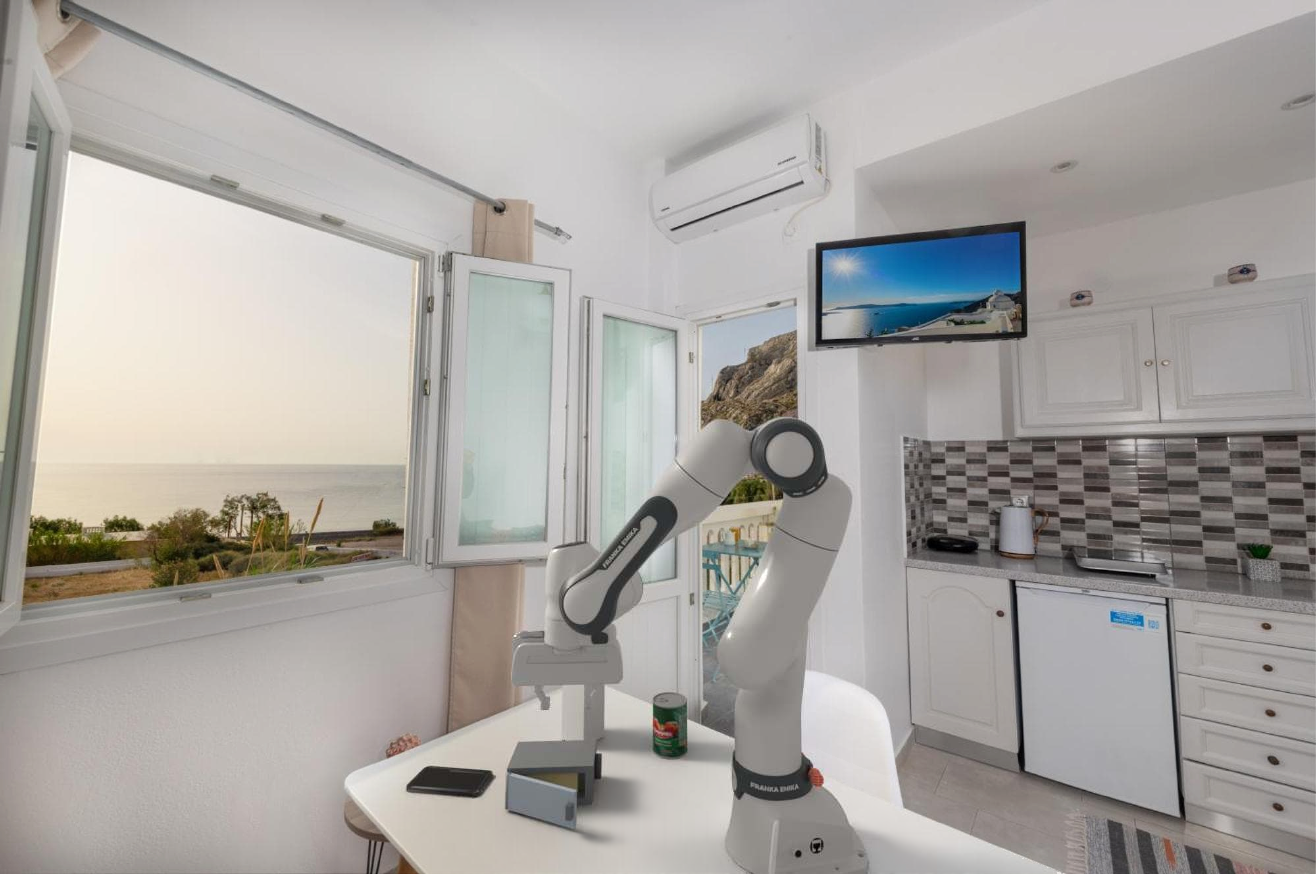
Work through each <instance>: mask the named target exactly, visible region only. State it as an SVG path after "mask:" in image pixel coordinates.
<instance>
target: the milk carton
mask: <svg viewBox="0 0 1316 874" xmlns="http://www.w3.org/2000/svg"><path fill="white" fill-rule="evenodd" d="M605 685H606V684H600V690H599V692H598V694H597V696H596V697H595V699H594V709H586V696H590V695H591V694H592V692H593V690H592V684H589V685H561V686H562V693H561V740H562V739H563V740H562V741H564V740H565V741H566V740H597V741H599V740H601V737H602V738H604V736H605V698H606V697H605V696H606V695H605V692H606V691H605V690H606V688H605ZM598 739H599V740H598Z"/></svg>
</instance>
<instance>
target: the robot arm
mask: <svg viewBox="0 0 1316 874" xmlns="http://www.w3.org/2000/svg"><path fill="white" fill-rule="evenodd" d="M753 474H760V475H761V476H762V478H764V479H765V480H766V481H767V482H769V483H770V484H771V485H773V486H774V487H775V488H777V489H779V490H780V491H781V492H782V494H783V495H782V497H783V498H782V503H781V507H780V511H779V513H778V515H777V517H776V519H775V523H774V525H773V528H772V530H771V533H770V535H769V537H768V540H767V543H766V546H765V548H764V551H763V553H762V556H761V559H760V561H759V562H758V563H759V564H758V566H757V567H756V569H755V572H754V574H753V576H752V577H751V579H750V581H749V583H748V584H747V587H746V588H745V591H744V593H743V594H742V596H741V598H740V600H739V602H738V604H737V605H736V608H735V610H734V612H733V615H732V617H731V618H730V621H729V623H728V624H727V627H726V628H725V630H724V632H723V634H722V635H721V637H720V639H719V641H718V644H717V649H716V657H717V662H718V666H719V668H720V670H721V672H722V674H723V676H724V677H725V678H726V680H728V681H729V682H730V683H731V684H733V685H734V686H735V687H737V688H738V691H737V696H736V699H735V703H734V750H733V752H732V757H731V758H732V761H731V787H732V791H733V799H732V807H731V812H730V813H731V814H730V819H729V824H728V828H727V832H726V835H725V846H726V849H727V852H728V854H729V855H730V856H731V858H732V859H733V860H734V861H735V862H736V863H737V864H738V865H739V866H740V867H742V868H743V869H744V870H746V871H747V872H749V873H751V874H868V873H869V872H868V871H869V858H868V854H867V850H866V847H865V846H864V844H863V841H862V839H861V838H860V837H859V835H858V833H857V832H856V831H855V829H854V828H853V827H852V826H851V824H850V822H849V820H848V817H847V814H846V812H845V810H844V808H843V807H842V805H841V803H840V802H839V800H838V799H837V798H836V797H835V795H834V794H833V793H832V792H831V791H829V790H828V789H827V788H826V787H824V786H823V785H824V783H825V782H824V781H825V779H824V776H823V775H822V773H821V771H820V770H819V769H818V768H814V764H813V763H812V761H811V760H810V759H809V758H808V757H807V756H806V755H805V754H804V752H803V751H802V706H803V705H802V704H803V695H804V687H805V676H806V665H807V664H806V663H807V649H808V647H807V645H808V636H809V623H808V622H809V620H810V618H811V616H812V614H813V612H814V610H815V608H816V607H817V604H818V602H819V600H820V598H821V596H822V594H823V593H824V589H825V586H826V584H827V582H828V580H829V577H830V574H831V572H832V570H833V566H834V565H835V562H836V559H837V557H838V553H840V552H839V551H840V549H841V547H842V544H843V542H844V538H845V535H846V531H847V527H848V524H849V521H850V516H851V510H852V504H853V494H852V493H853V492H852V491H851V488H850V487H849V486H848V484H847V483H846V482H845V481H844V480H842V479H841V478H840V477H838V476H836V475H834V474H832V473H830V472H828V466H827V461H826V453H825V448H824V444H823V441H822V439H821V437H820V435H819V434H818V432H817V431H816V430H815V429H814V428H813V427H812V425H810V424H809V423H807V422H805V420H801V419H799V418H796V417H794V416H793V417H792V416H779V417H775V418H772V419H769V420H768V421H765V422H763V423H761V424H758V425H756V426H754V427H751V428H748V429H745V428H744V427H742V426H741V425H739V424H738V423H735V422H734V421H731V420H728V419H723V418H722V419H721V418H719V419H714V420H712V421H710V422H709V423H707V424H706V425H705V426H704V427H703V428H702V429H700V430H699V431H698V432H697V433H696V434H695V435H694V436H693V437H692V438H691V439H690V440H689V441H688V442H687V443H686V445H685V446H684V447H683V448H682V449H681V450H680V451H679V452H678V454H677V455H676V456H675V458H674V459H673V460H672V461H671V463H670V464H669V465H668V466H667V468H666V469H665V471H664V472H663V473H662V475H661V477H660V478H659V480H658V481H657V483H656V484H655V486H654V487H653V488H652V490H651V492H649V495H648V496H647V497H646V498H645V499H644V501H643V502H642V503H641V505H640V506H639V508H638V509H637V511H636V512H635V513H634V514H633V516H632V517H631V518H630V519H629V521H628V522H626V524H624V526H623V527H622V529H620V531H619V532H618V533H617V534H616V535H615V537H613V539H612V540H611V541H610V542H609V544H608V545H607V546H606V547H605V548H604V549H603V551H602V552H600V551H599V550H598V549H596V548H595V547H594V546H593V545H592V543H590V542H588V541H586V540H585V541H584V540H581V541H580V540H579V541H578V540H577V541H572V542H568V543H563V544H558V545H556V546H554V547H553V548H552V549H550V552H549V553H548V557H547V561H546V567H545V580H544V581H545V583H544V593H545V596H546V608H545V611H544V625H543V627H544V630H534V631H527V630H522V631H520V632H519V633H517V634H515V635H514V636H513V637H512V639H511V643H510V644H511V645H510V646H511V648H510V651H511V654H512V655H513V660H512V665H511V672H510V682H511V683H512V684H513V685H514V686H515V687H532V686H533V687H534V693H535V695H536V697H537V698H538V700H539V701H540V711H550V708H551V702H550V701H551V696H546V694H545V692H544V688H545V687H546V686H562V685H589V684H592V690H593V692H592V694H591V695H590V696H586V709H594V699H595V697H596V696H597V694H598V692H599V690H600V684H605V685H618V684H620V683H621V681H622V680H623V678H624V667H623V666H624V664H623V654H622V648H621V644H620V641H619V640H618V639H617V627H616V624H614V623H613V622H616V620H618V619H620V618H622V617H623V616H624V615H625V614H627V613H629V612H630V611H631V610H633V608H636V606H637V605H638V604H639V602H640V601H641V600H642V596H643V593H644V583H643V579H642V576H641V574H640V572H639V570H640V569H642V567H643V566H644V565H645V563H646V562H647V561H648V560H649V559H650V558H651V556H652V555H653V554H654V553H656V551H657V550H658V549H660V548H661V547H662V546H663V545H664V544H666V543H667V542H669V541H670V540H672V539H674V538H675V537H678V536H680V535H682V534H684V533H685V532H687V531H689V530H692V529H694V527H696V526H699V525H700V524H701V523H702V522H704V521H705V520H706V519H707V518H708V517H709V516H710V515H712V513H713V512H715V511H716V510H717V508H718V507H720V505H721V504H722V503H723V502H724V500H725V499H726V498H727V497H728V495H729V494H730V492H731V491H732V490H733V489H734V487H735V486H736V485H737V484H738V483H739V482H741V480H743V479H744V478H745V477H747V476H748V475H753Z"/></svg>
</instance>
